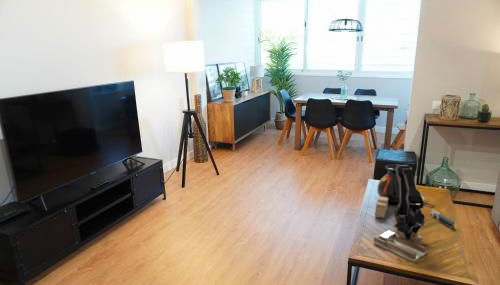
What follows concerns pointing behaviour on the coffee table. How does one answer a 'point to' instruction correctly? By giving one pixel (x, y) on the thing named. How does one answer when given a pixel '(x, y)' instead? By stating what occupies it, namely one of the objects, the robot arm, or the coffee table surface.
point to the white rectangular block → (388, 236)
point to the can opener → (443, 219)
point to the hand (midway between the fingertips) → (409, 238)
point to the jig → (402, 247)
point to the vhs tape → (427, 203)
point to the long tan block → (412, 237)
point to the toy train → (381, 207)
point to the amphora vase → (390, 186)
